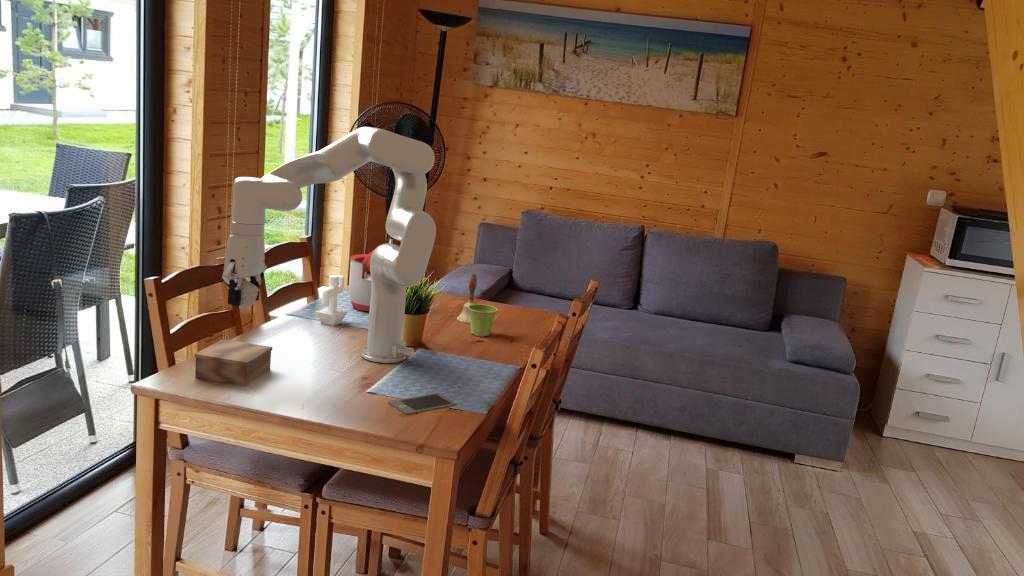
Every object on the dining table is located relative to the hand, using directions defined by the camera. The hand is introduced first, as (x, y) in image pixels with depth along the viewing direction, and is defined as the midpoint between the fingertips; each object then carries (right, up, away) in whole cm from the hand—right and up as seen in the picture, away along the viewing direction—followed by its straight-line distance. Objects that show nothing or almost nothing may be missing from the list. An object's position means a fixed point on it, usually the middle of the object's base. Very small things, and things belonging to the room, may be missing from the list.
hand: (243, 301), depth 198 cm
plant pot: (+55, -12, +62) cm, 83 cm away
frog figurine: (0, -1, 0) cm, 1 cm away
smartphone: (+44, -25, -2) cm, 50 cm away
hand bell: (+51, -8, +76) cm, 92 cm away
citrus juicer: (+17, -4, +76) cm, 78 cm away
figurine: (+9, -8, +55) cm, 56 cm away
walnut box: (-4, -18, +3) cm, 18 cm away
